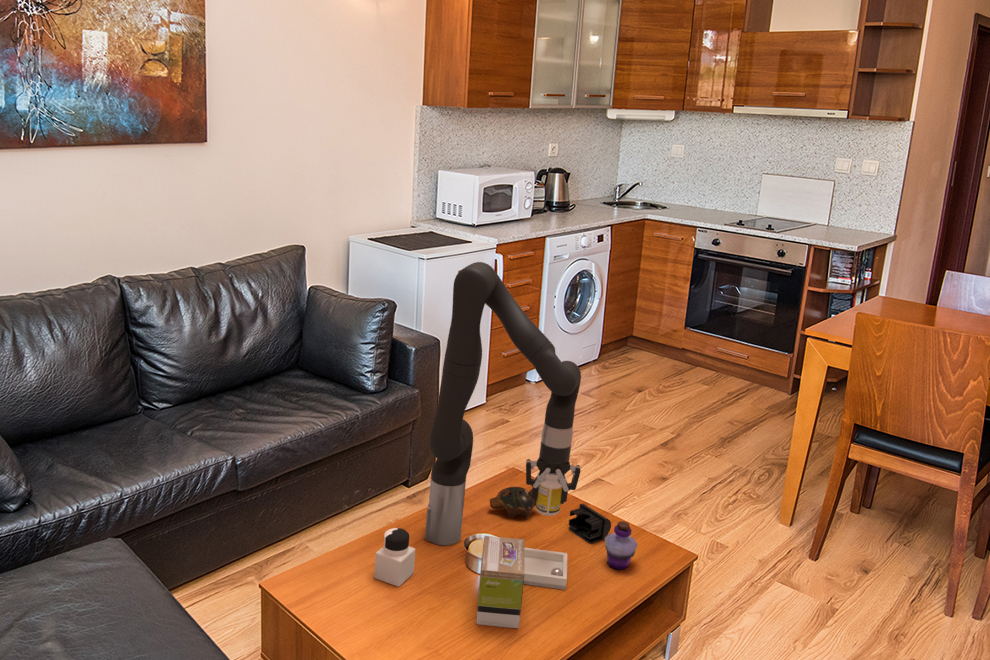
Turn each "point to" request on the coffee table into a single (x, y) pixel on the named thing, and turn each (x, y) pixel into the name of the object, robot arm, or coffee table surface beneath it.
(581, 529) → the end cap
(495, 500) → the decorative turtle
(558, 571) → the steel ball
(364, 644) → the coffee table surface
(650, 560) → the coffee table surface
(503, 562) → the tea box
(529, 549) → the tray
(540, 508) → the pill bottle
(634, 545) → the potion bottle
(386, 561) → the medicine bottle
